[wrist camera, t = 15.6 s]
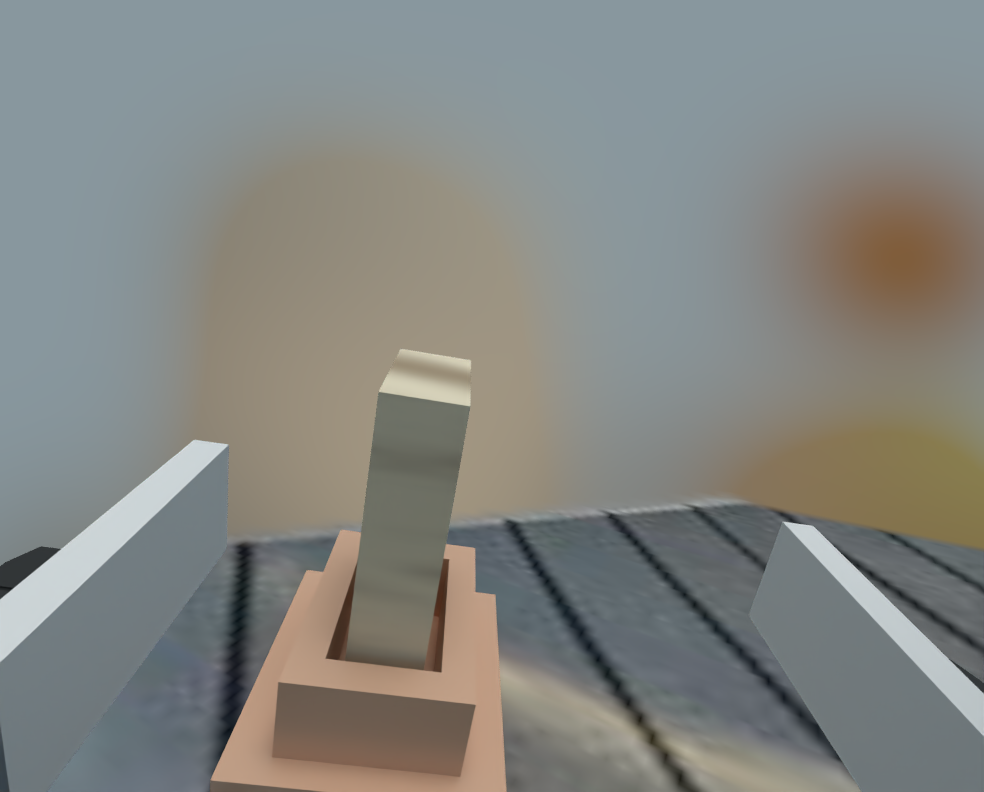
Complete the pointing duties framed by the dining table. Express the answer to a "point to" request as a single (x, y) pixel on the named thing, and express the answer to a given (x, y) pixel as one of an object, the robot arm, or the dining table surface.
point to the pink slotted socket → (373, 697)
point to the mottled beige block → (408, 507)
